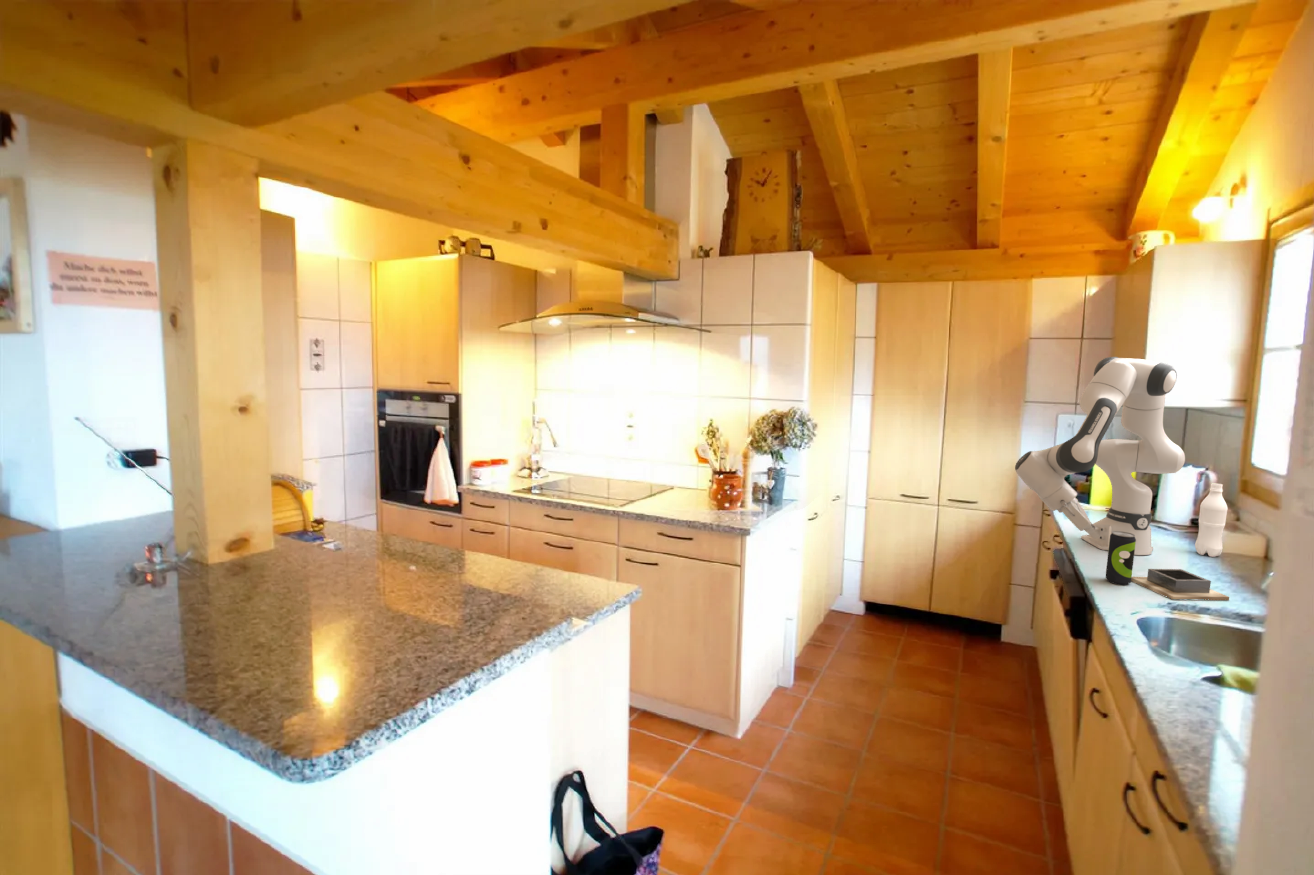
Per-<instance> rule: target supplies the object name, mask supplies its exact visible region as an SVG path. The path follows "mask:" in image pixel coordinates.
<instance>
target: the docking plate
mask: <svg viewBox="0 0 1314 875" xmlns="http://www.w3.org/2000/svg"><path fill="white" fill-rule="evenodd" d="M1131 582H1133V583H1135V584H1137V585H1139V584H1140V585H1139V586H1142V587H1144V588H1146V589H1148V590H1150V591H1153V592H1155V593H1157V594H1159V595H1161V596H1163V595H1164V596H1163V597H1165V596H1167V597H1166V598H1168V597H1169V598H1168V599H1170V598H1171V599H1170V600H1172V599H1204V600H1203V601H1230V596H1229V595H1228V596H1227V595H1225V594H1223V593H1221V592H1219V591H1216V590H1214V589H1211V588H1210V592H1209V593H1175V592H1172V591H1170V590H1168V589H1166V588H1163V587H1161V586H1159V585H1157V584H1154V583H1152V582H1150V581H1148V580H1147V576H1132V578H1131ZM1205 599H1206V600H1205ZM1208 599H1209V600H1208Z"/></svg>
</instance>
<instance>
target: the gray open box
mask: <svg viewBox="0 0 1314 875" xmlns="http://www.w3.org/2000/svg"><path fill="white" fill-rule="evenodd" d="M1146 577H1147V580H1148V581H1150V582H1152V583H1154V584H1157V585H1159V586H1161V587H1163V588H1166V589H1168V590H1170V591H1172V592H1175V593H1209V592H1210V589H1211V583H1212V581H1211V580H1209V579H1207V578H1204V577H1201V576H1200V575H1196V574H1194V573H1192V572H1189V571H1186V570H1184V569H1181V568H1147V575H1146Z"/></svg>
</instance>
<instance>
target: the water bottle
mask: <svg viewBox="0 0 1314 875" xmlns="http://www.w3.org/2000/svg"><path fill="white" fill-rule="evenodd" d="M1223 485H1224V484H1222V483H1215V482H1213V483H1210V487H1209V490H1208V491H1209V492H1208V494H1207V495H1206V497H1205V498H1204V499H1203V500H1202V501H1201V502H1200V506H1199V515H1198V534H1197V537H1196V541H1195V543H1194V547H1195V550H1196V552H1197V554H1199V555H1201V556H1204V555H1206V554H1207V555H1208V557H1210V558H1215V557H1219V556H1220V555H1221V554H1222V551H1223V548H1224V547H1223V533H1224V529H1225V526H1226V522H1227V516H1228V515H1227V514H1228V508H1229V507H1228V505H1227V503H1226V501H1225V499H1224V496H1223V492H1224V489H1223Z"/></svg>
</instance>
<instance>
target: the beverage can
mask: <svg viewBox="0 0 1314 875" xmlns="http://www.w3.org/2000/svg"><path fill="white" fill-rule="evenodd" d="M1135 543H1136V539H1135V535H1134V534H1132V533H1128V532H1122V531H1112V534H1111V535H1110V541H1109V550H1107V551H1108V552H1107V559H1106V560H1107V562H1106V569H1105V579H1106V580H1107V582H1109V583H1112V584H1115V585H1118V586H1119V585H1120V586H1128V585H1129V584H1131V583H1132V581H1131V578H1132V577H1133V568H1134V561H1135V560H1134V559H1135V555H1134V552H1135Z"/></svg>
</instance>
